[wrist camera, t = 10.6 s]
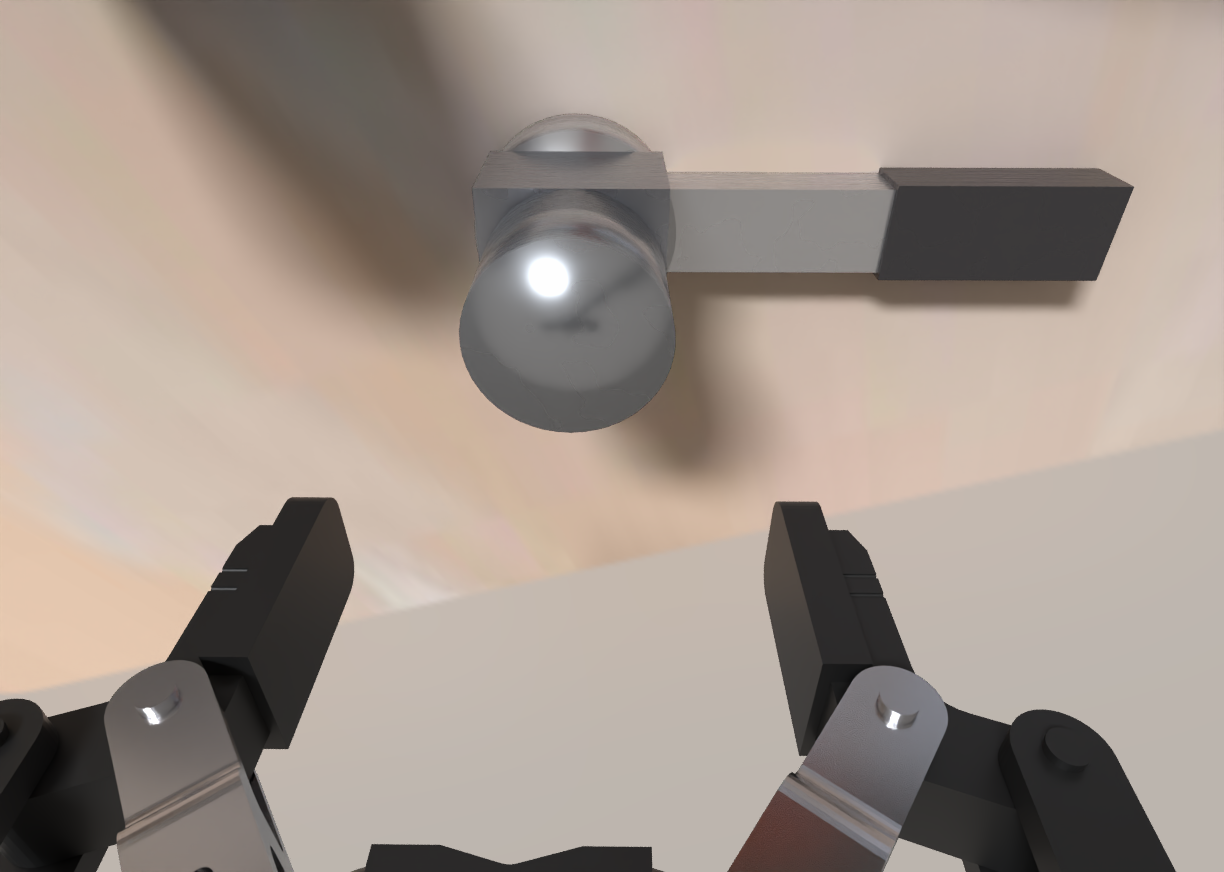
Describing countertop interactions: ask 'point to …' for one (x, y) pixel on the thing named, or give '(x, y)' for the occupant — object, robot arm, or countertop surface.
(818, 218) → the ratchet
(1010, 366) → the countertop surface
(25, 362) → the countertop surface
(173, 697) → the robot arm
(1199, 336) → the countertop surface
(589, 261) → the cylinder on square block
